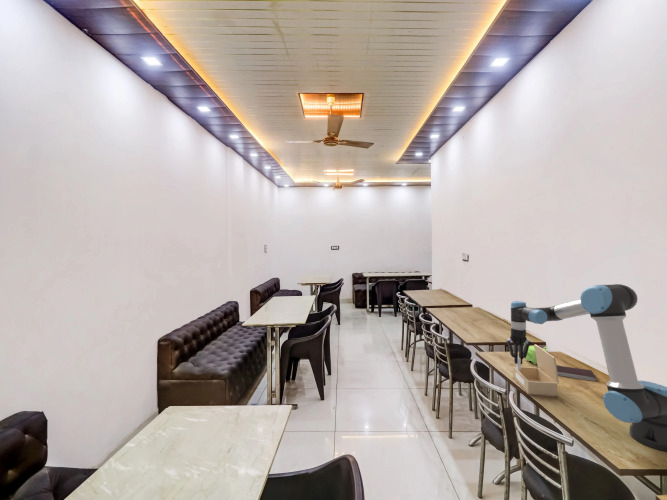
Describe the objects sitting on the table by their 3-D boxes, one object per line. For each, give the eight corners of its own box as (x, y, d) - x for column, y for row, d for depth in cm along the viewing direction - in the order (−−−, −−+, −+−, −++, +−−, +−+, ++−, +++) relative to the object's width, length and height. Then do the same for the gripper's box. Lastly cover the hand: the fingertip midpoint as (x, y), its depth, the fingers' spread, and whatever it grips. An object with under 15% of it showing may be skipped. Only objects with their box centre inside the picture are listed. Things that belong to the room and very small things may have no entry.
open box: (557, 396, 169) (557, 383, 169) (528, 394, 172) (528, 381, 171) (538, 379, 191) (538, 367, 191) (512, 377, 193) (512, 366, 193)
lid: (557, 382, 169) (559, 382, 168) (553, 357, 169) (555, 357, 169) (537, 366, 191) (539, 366, 191) (534, 344, 191) (535, 344, 191)
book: (553, 369, 207) (553, 364, 207) (591, 374, 198) (591, 369, 198) (556, 376, 196) (556, 371, 196) (596, 382, 187) (596, 376, 187)
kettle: (523, 357, 228) (523, 341, 228) (547, 360, 221) (547, 344, 220) (522, 363, 216) (522, 347, 215) (548, 368, 208) (548, 350, 208)
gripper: (528, 327, 185) (527, 367, 185) (503, 326, 187) (503, 366, 187) (533, 330, 177) (533, 372, 178) (508, 329, 179) (508, 371, 180)
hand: (518, 369), depth 182 cm, fingers closed
